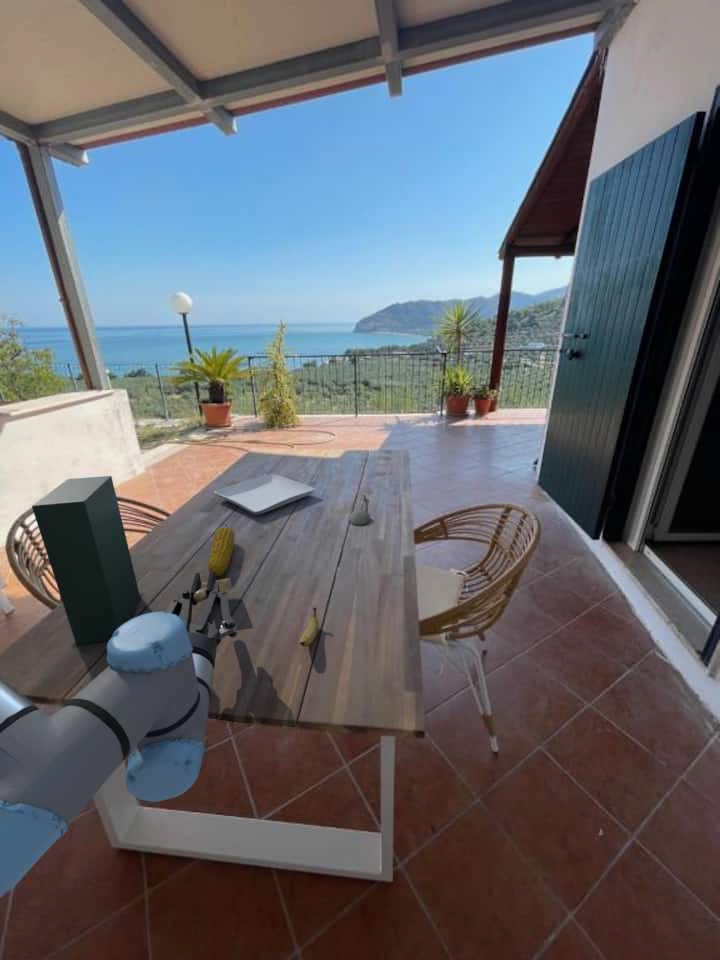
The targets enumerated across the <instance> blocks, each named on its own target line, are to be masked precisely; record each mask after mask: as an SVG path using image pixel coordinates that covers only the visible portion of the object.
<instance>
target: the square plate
mask: <svg viewBox="0 0 720 960" xmlns="http://www.w3.org/2000/svg"><path fill="white" fill-rule="evenodd" d="M315 490H316V488H315V487H312V486H309V485H307V484H304V483H301V482H299V481H296V480H293V479H291V478H288V477H284V476H281V475H278V474H274V473H269V474H266V475H262V476H259V477H254V478H250V479H248V480H244V481H241V482H238V483H235V484H232V485H229V486H226V487H223V488H220V489H217V490H214V491H213V494H215V495H216V496H217V497H219V498H220V499H223V500H225V501H227V502H229V503H231V504H234V505H236V506H238V507H239V508H242V510H245V511H247V512H249V513H251V514H253V515H255V516H256V515H257V516H259V515H263V514H266V513H267V512H271V511H274V510H275V509H279V508H281V507H283V506H286V505H288V504H289V505H290V504H291V503H293V502H296V501H298V500H301V499H304V498H306V497H307V496H310V495H311V494H312V493H313V492H315Z"/></svg>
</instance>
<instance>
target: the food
mask: <svg viewBox="0 0 720 960" xmlns="http://www.w3.org/2000/svg"><path fill="white" fill-rule="evenodd" d="M234 543H235V533H234V530H233V529H232V528H231V527H229V526H220V527H219V528H218V529H216V531H215V533H214V534H213V540H212V545H211V549H210V554H209V556H208V557H209V558H208V571H209V572H210V571H214V574H215V578H216V577H221V576H222V575H223V574H225V572H226V571H227V569H228V566H229V564H230V561H231V559H232V554H233V550H234Z"/></svg>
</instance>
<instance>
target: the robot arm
mask: <svg viewBox="0 0 720 960" xmlns="http://www.w3.org/2000/svg"><path fill="white" fill-rule="evenodd" d="M215 580H216V577H215V574H214V571H209V574H208V579H207V582H208V583H207V588H206V593H207V598H206V603H205V606H204V609H203V611H202V613H201V614H200V616H199V619H198V621H195V622H192V617H193V615H192V614H193V606H198V603H199V602H196V601H195V600H194V598H193V596H194V594H195V592H197V591H199V590H200V589H201V585H202V584H201V583H202V579H201V573H200V572H195V573H194V578H193V581H192V584H191V586H187V588H186V589H185V591H183V592H182V593H181V594H182V598H173V599H171V601H170V603H169V605H168V606H167V608H166V610H165V611H152V612H147V613H143V614H141V615H138V616H135V617H133V618H130V619H129V621H127V622H126V623H124V624H123V625H121V626H120V627H119V628H118V629H117V630H116V631H115V632H114V633H113V636H112V638H111V639H109V640H108V642H107V645H106V653H107V655H106V662H107V664H108V666H107V667H106V668H105V669H104V670H103V671H101V672H100V673H99V674H98V675H97V676H96V677H95V678H93V679H92V680H91V681H90V682H89V683H88V684H86V686H85V687H83V688H82V689H81V690H80V691H78V692H77V694H75V695H74V696H73V697H72V698H71V699H70V700H69V701H67V702H66V703H65V704H64V705H63V706H61V707H60V708H59V709H58V710H57V711H56V712H55V713H53V714H52V715H49V714H47V713H46V712H45V711H43V710H41V709H40V708H39V707H38V706H37V705H36V704H35V703H34V702H32V701H31V700H30V699H29V698H27V697H26V696H24V695H23V694H22V693H21V692H20V691H19V690H17V689H16V688H14V687H13V685H11V684H10V683H9V682H7V681H6V680H4V679H3V678H2V677H1V676H0V898H2V897H4V896H5V895H6V894H8V893H10V892H11V891H12V890H13V889H14V888H15V887H16V886H17V884H19V882H20V881H21V880H22V879H23V878H24V877H25V876H26V875H27V873H28V872H29V871H30V870H31V869H32V868H33V867H34V866H35V865H36V864H37V862H38V861H39V860H40V859H41V858H43V856H44V855H45V853H47V851H48V850H49V849H50V848H51V847H52V846H53V845H54V843H56V841H57V840H58V839H61V838H62V837H63V836H64V835H65V834H66V832H67V831H68V829H69V828H68V827H69V826H70V825H71V823H72V822H73V821H74V820H75V819H76V818H77V816H78V815H80V813H81V812H82V811H83V810H84V808H85V807H86V805H88V804H89V802H90V801H91V800H92V799H93V797H94V796H95V795H97V794H96V793H98V791H99V790H100V789H101V787H103V785H104V784H105V783H106V782H107V781H108V779H109V778H110V777H111V776H112V775H113V774H114V772H115V771H116V770H117V769H118V767H119V766H120V765H121V764H122V763H123V762H124V760H125V759H126V758H127V757H128V759H127V768H126V773H125V782H124V783H125V787H126V789H127V791H128V792H129V793H130V794H131V795H132V797H135V798H137V799H138V800H141V801H145V802H150V803H151V802H152V803H155V802H164V801H166V800H170V799H175V798H177V797H179V796H181V795H182V794H184V793H185V792H187V791H188V790H189V789H190V788H191V787H193V785H194V784H195V783H196V781H197V779H198V778H199V775H200V772H201V767H202V762H203V758H204V754H205V752H206V745H205V744H206V743H205V742H206V734H207V727H208V726H207V725H208V719H209V710H210V701H211V695H212V688H213V680H214V673H215V672H214V670H215V664H216V659H217V650H218V646H219V645H220V644H221V643H222V639H224V638H225V637H227V636H228V637H230V638H235V637H236V636H237V633H238V632H237V626H236V621H235V619H234V618H233V617H232V616H231V610H230V604H229V596H228V591H222V592H220V588H219V583H216V581H215ZM219 592H220V593H219ZM219 607H220V608H221V616H222V621H221V625H220V629H218V628H216V627H215V626H214V625H213V623H214V620H215V616H216V614H217V609H218V608H219Z"/></svg>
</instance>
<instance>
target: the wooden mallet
mask: <svg viewBox="0 0 720 960" xmlns="http://www.w3.org/2000/svg"><path fill="white" fill-rule="evenodd" d="M215 581H216V583H219V588H220V592H219V593H221V592H222V591H226V592H229V591H230V590H231V589H233V588H232V578H231V577H229V578H222V579H215ZM207 583H208V581H203V582H201V584H202V585H201V589H200V590H199V591H197V592H195V594H194V596H193V598H194V600H195V601H196V602H198V603H201V602H203V601H205V600H207V593H206V588H207Z"/></svg>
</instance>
